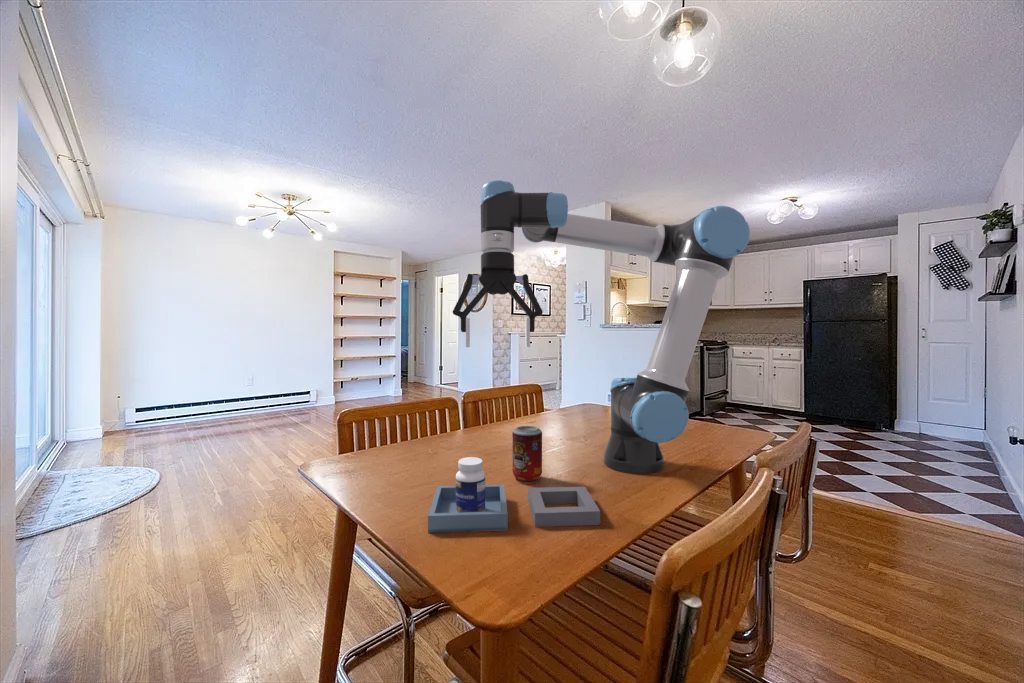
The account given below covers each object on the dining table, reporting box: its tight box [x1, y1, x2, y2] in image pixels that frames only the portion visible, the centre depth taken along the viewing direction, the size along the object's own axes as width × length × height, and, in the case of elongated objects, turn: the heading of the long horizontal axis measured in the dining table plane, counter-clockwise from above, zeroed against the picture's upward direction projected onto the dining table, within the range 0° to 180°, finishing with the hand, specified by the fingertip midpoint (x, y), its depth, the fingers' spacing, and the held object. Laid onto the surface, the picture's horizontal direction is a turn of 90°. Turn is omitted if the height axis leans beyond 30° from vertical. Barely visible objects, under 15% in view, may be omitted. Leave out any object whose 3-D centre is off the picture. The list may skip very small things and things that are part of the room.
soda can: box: [511, 425, 543, 485], centre depth 99 cm, size 7×7×12 cm
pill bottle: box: [455, 456, 486, 513], centre depth 81 cm, size 6×6×10 cm
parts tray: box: [427, 484, 509, 534], centre depth 81 cm, size 14×14×3 cm
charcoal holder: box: [527, 486, 601, 528], centre depth 82 cm, size 12×12×2 cm
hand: (497, 347), depth 95 cm, fingers open, 13 cm apart
